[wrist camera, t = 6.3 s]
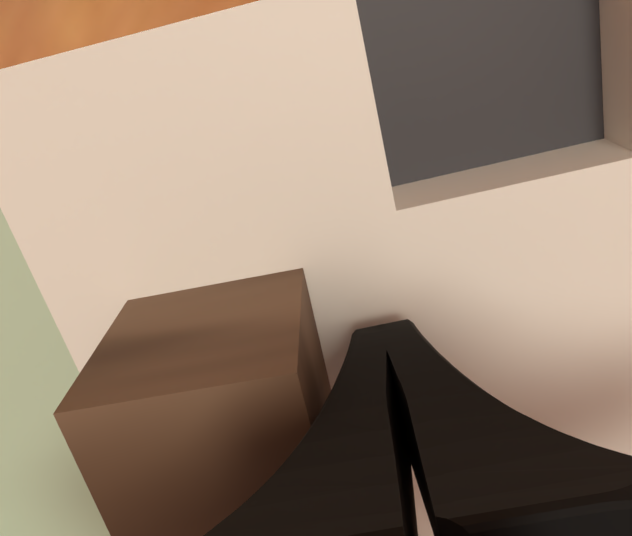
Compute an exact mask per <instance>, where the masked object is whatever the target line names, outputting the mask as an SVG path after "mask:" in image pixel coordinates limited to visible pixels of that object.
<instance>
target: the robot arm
mask: <svg viewBox="0 0 632 536" xmlns="http://www.w3.org/2000/svg"><path fill="white" fill-rule="evenodd" d="M411 465H412V468H413V471H414V475H415V478H416V481H417V484H418V487H419V490H420V493H421V496H422V499H423V503H424V506H425V509H426V512H427V515H428V518H429V521H430V524H431V528H432V531H433V534H434V536H632V456H631V455H627V454H624V453H620V452H617V451H614V450H610V449H607V448H603V447H600V446H597V445H594V444H591V443H588V442H586V441H583V440H581V439H578V438H575V437H573V436H570V435H567V434H565V433H562V432H560V431H558V430H555V429H553V428H551V427H548V426H546V425H544V424H542V423H540V422H538V421H536V420H534V419H532V418H530V417H528V416H526V415H524V414H522V413H520V412H518V411H516V410H514V409H513V408H511V407H509V406H507V405H506V404H504V403H503V402H501V401H500V400H498V399H496V398H495V397H493V396H492V395H490V394H489V393H487V392H486V391H485V390H483V389H482V388H480V387H479V386H478V385H476V384H475V383H474V382H472V381H471V380H470V379H469V378H467V377H466V376H465V375H464V374H462V373H461V372H460V371H459V370H458V369H456V368H455V367H454V366H453V365H452V364H451V363H450V362H449V361H448V360H446V359H445V358H444V357H443V356H442V355H441V354H440V353H439V352H438V351H437V350H436V349H435V348H434V347H433V346H432V345H431V344H430V343H429V342H428V341H427V340H426V338H425V337H424V336H423V335H422V334H421V333H420V331H419V330H418V329H417V327H416V326H415V324H414V323H413V322H411V321H410V320H408V319H405V320H400V321H395V322H391V323H386V324H381V325H376V326H371V327H366V328H361V329H356V330H355V331H354V333H353V334H352V336H351V341H350V344H349V348H348V351H347V354H346V357H345V359H344V362H343V365H342V367H341V369H340V372H339V374H338V376H337V379H336V381H335V383H334V385H333V388H332V390H331V392H330V393H329V395H328V397H327V399H326V401H325V403H324V405H323V407H322V408H321V410H320V412H319V414H318V416H317V417H316V419H315V420H314V422H313V424H312V425H311V427H310V428H309V430H308V431H307V433H306V434H305V436H304V437H303V439H302V440H301V441H300V443H299V444H298V446H297V447H296V448H295V449H294V451H293V452H292V453H291V454H290V456H289V457H288V458H287V459H286V460H285V462H284V463H283V464H282V465H281V466H280V467H279V469H278V470H277V471H276V472H275V473H274V474H273V475H272V476H271V477H270V478H269V479H268V480H267V481H266V482H265V483H264V484H263V485H262V486H261V487H260V488H259V489H258V490H257V491H256V492H255V493H254V494H253V495H252V496H251V497H250V498H249V499H248V500H247V501H245V502H244V503H243V504H242V505H241V506H240V507H239V508H237V509H236V510H235V511H234V512H233V513H231V514H230V515H229V516H228V517H226V518H225V519H224V520H222V521H221V522H220V523H219V524H217V525H216V526H215V527H214V528H212V529H211V530H210V531H209V532H207V533H206V534H205V535H203V536H418V529H417V519H416V509H415V499H414V489H413V478H412V468H411Z"/></svg>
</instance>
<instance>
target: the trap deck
mask: <svg viewBox="0 0 632 536" xmlns="http://www.w3.org/2000/svg"><path fill="white" fill-rule="evenodd" d="M300 268H303V270H304V274H305V279H306V283H307V287H308V292H309V296H310V300H311V305H312V309H313V313H314V318H315V322H316V326H317V331H318V335H319V339H320V344H321V348H322V352H323V357H324V361H325V365H326V369H327V374H328V378H329V382H330V387H331V390H332V388H333V385H334V383H335V381H336V379H337V376H338V374H339V372H340V369H341V367H342V365H343V362H344V359H345V357H346V354H347V351H348V348H349V344H350V341H351V336H352V334H353V333H354V331H355V330H356V329H361V328H366V327H371V326H376V325H381V324H386V323H391V322H395V321H400V320H405V319H408V320H410V321H411V322H413V323H414V324H415V326H416V327H417V329H418V330H419V331H420V333H421V334H422V335H423V336H424V337H425V338H426V340H427V341H428V342H429V343H430V344H431V345H432V346H433V347H434V348H435V349H436V350H437V351H438V352H439V353H440V354H441V355H442V356H443V357H444V358H445V359H446V360H448V361H449V362H450V363H451V364H452V365H453V366H454V367H455V368H456V369H458V370H459V371H460V372H461V373H462V374H464V375H465V376H466V377H467V378H469V379H470V380H471V381H472V382H474V383H475V384H476V385H478V386H479V387H480V388H482V389H483V390H485V391H486V392H487V393H489V394H490V395H492V396H493V397H495V398H496V399H498V400H500V401H501V402H503V403H504V404H506V405H507V406H509V407H511V408H513V409H514V410H516V411H518V412H520V413H522V414H524V415H526V416H528V417H530V418H532V419H534V420H536V421H538V422H540V423H542V424H544V425H546V426H548V427H551V428H553V429H555V430H558V431H560V432H562V433H565V434H567V435H570V436H573V437H575V438H578V439H581V440H583V441H586V442H588V443H591V444H594V445H597V446H600V447H603V448H607V449H610V450H614V451H617V452H620V453H624V454H627V455H631V456H632V0H260V1H256V2H252V3H248V4H244V5H241V6H237V7H233V8H229V9H226V10H222V11H218V12H214V13H211V14H207V15H203V16H199V17H196V18H192V19H188V20H184V21H180V22H177V23H173V24H169V25H165V26H162V27H158V28H154V29H150V30H147V31H143V32H139V33H135V34H132V35H128V36H124V37H120V38H116V39H113V40H109V41H105V42H101V43H98V44H94V45H90V46H86V47H83V48H79V49H75V50H71V51H67V52H64V53H60V54H56V55H52V56H49V57H45V58H41V59H37V60H34V61H30V62H26V63H22V64H19V65H15V66H11V67H7V68H3V69H0V536H111V535H110V533H109V531H108V529H107V527H106V525H105V523H104V521H103V519H102V516H101V514H100V512H99V510H98V508H97V506H96V504H95V502H94V500H93V497H92V495H91V493H90V491H89V489H88V487H87V485H86V483H85V481H84V478H83V476H82V474H81V472H80V470H79V468H78V466H77V464H76V462H75V459H74V457H73V455H72V453H71V451H70V449H69V447H68V445H67V443H66V440H65V438H64V436H63V434H62V432H61V430H60V428H59V426H58V424H57V421H56V419H55V417H54V415H53V413H54V412H55V410H56V409H57V407H58V406H59V404H60V402H61V401H62V399H63V398H64V396H65V395H66V393H67V392H68V390H69V389H70V387H71V386H72V384H73V383H74V381H75V380H76V378H77V377H78V375H79V373H80V372H81V370H82V369H83V367H84V366H85V364H86V363H87V361H88V360H89V358H90V357H91V355H92V354H93V352H94V351H95V349H96V348H97V346H98V344H99V343H100V341H101V340H102V338H103V337H104V335H105V334H106V332H107V331H108V329H109V328H110V326H111V325H112V323H113V322H114V320H115V319H116V317H117V316H118V314H119V312H120V311H121V309H122V308H123V306H124V305H125V303H126V302H127V300H132V299H137V298H142V297H148V296H153V295H159V294H164V293H170V292H175V291H180V290H186V289H191V288H197V287H202V286H207V285H213V284H218V283H224V282H229V281H235V280H240V279H245V278H251V277H256V276H262V275H267V274H272V273H278V272H283V271H289V270H294V269H300ZM411 468H412V465H411ZM412 478H413V489H414V499H415V509H416V519H417V529H418V536H434V534H433V531H432V528H431V524H430V521H429V518H428V515H427V512H426V509H425V506H424V503H423V499H422V496H421V493H420V490H419V487H418V484H417V481H416V478H415V475H414V471H413V468H412Z"/></svg>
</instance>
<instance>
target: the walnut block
mask: <svg viewBox="0 0 632 536" xmlns="http://www.w3.org/2000/svg"><path fill="white" fill-rule="evenodd" d="M330 392H331V387H330V382H329V378H328V374H327V369H326V365H325V361H324V357H323V352H322V348H321V344H320V339H319V335H318V331H317V326H316V322H315V318H314V313H313V309H312V305H311V300H310V296H309V292H308V287H307V283H306V279H305V274H304V270H303V268H300V269H294V270H289V271H283V272H278V273H272V274H267V275H262V276H256V277H251V278H245V279H240V280H235V281H229V282H224V283H218V284H213V285H207V286H202V287H197V288H191V289H186V290H180V291H175V292H170V293H164V294H159V295H153V296H148V297H142V298H137V299H132V300H127V302H126V303H125V305H124V306H123V308H122V309H121V311H120V312H119V314H118V316H117V317H116V319H115V320H114V322H113V323H112V325H111V326H110V328H109V329H108V331H107V332H106V334H105V335H104V337H103V338H102V340H101V341H100V343H99V344H98V346H97V348H96V349H95V351H94V352H93V354H92V355H91V357H90V358H89V360H88V361H87V363H86V364H85V366H84V367H83V369H82V370H81V372H80V373H79V375H78V377H77V378H76V380H75V381H74V383H73V384H72V386H71V387H70V389H69V390H68V392H67V393H66V395H65V396H64V398H63V399H62V401H61V402H60V404H59V406H58V407H57V409H56V410H55V412H54V413H53V415H54V417H55V419H56V421H57V424H58V426H59V428H60V430H61V432H62V434H63V436H64V438H65V440H66V443H67V445H68V447H69V449H70V451H71V453H72V455H73V457H74V459H75V462H76V464H77V466H78V468H79V470H80V472H81V474H82V476H83V478H84V481H85V483H86V485H87V487H88V489H89V491H90V493H91V495H92V497H93V500H94V502H95V504H96V506H97V508H98V510H99V512H100V514H101V516H102V519H103V521H104V523H105V525H106V527H107V529H108V531H109V533H110V535H111V536H203V535H205V534H206V533H207V532H209V531H210V530H211V529H212V528H214V527H215V526H216V525H217V524H219V523H220V522H221V521H222V520H224V519H225V518H226V517H228V516H229V515H230V514H231V513H233V512H234V511H235V510H236V509H237V508H239V507H240V506H241V505H242V504H243V503H244V502H245V501H247V500H248V499H249V498H250V497H251V496H252V495H253V494H254V493H255V492H256V491H257V490H258V489H259V488H260V487H261V486H262V485H263V484H264V483H265V482H266V481H267V480H268V479H269V478H270V477H271V476H272V475H273V474H274V473H275V472H276V471H277V470H278V469H279V467H280V466H281V465H282V464H283V463H284V462H285V460H286V459H287V458H288V457H289V456H290V454H291V453H292V452H293V451H294V449H295V448H296V447H297V446H298V444H299V443H300V441H301V440H302V439H303V437H304V436H305V434H306V433H307V431H308V430H309V428H310V427H311V425H312V424H313V422H314V420H315V419H316V417H317V416H318V414H319V412H320V410H321V408H322V407H323V405H324V403H325V401H326V399H327V397H328V395H329V393H330Z"/></svg>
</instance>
